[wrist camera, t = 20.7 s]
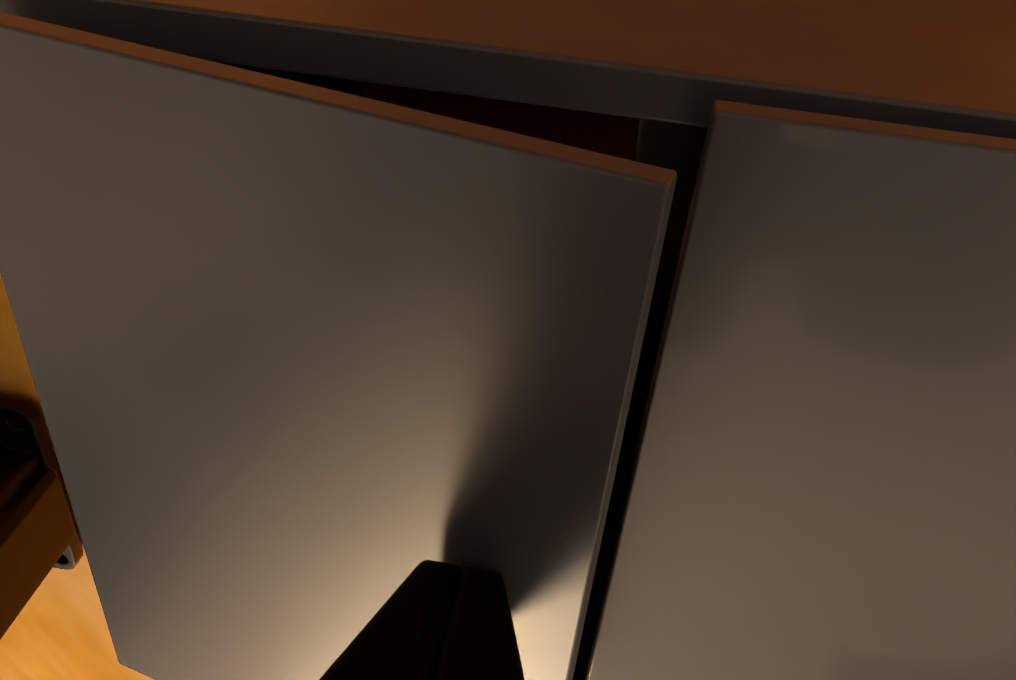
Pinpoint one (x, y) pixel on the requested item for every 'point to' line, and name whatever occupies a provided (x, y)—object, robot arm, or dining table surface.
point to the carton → (756, 304)
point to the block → (521, 118)
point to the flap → (314, 348)
